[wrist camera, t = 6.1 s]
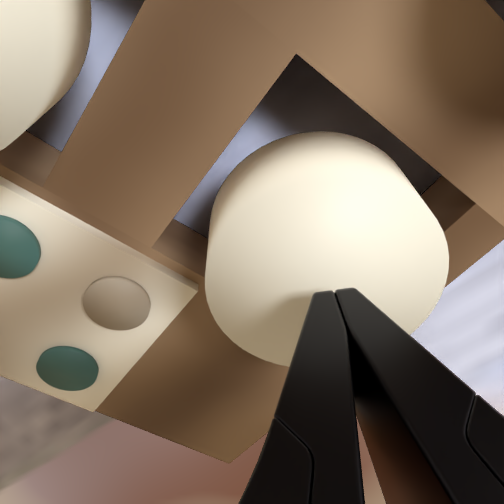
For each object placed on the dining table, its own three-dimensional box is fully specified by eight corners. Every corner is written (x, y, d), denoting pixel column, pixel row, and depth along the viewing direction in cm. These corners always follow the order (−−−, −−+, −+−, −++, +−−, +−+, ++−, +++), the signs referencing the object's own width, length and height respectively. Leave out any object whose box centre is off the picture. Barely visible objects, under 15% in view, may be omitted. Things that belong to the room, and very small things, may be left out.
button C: (456, 210, 12) (500, 262, 10) (319, 333, 14) (333, 395, 12) (299, 83, 10) (315, 118, 8) (171, 249, 12) (158, 307, 10)
